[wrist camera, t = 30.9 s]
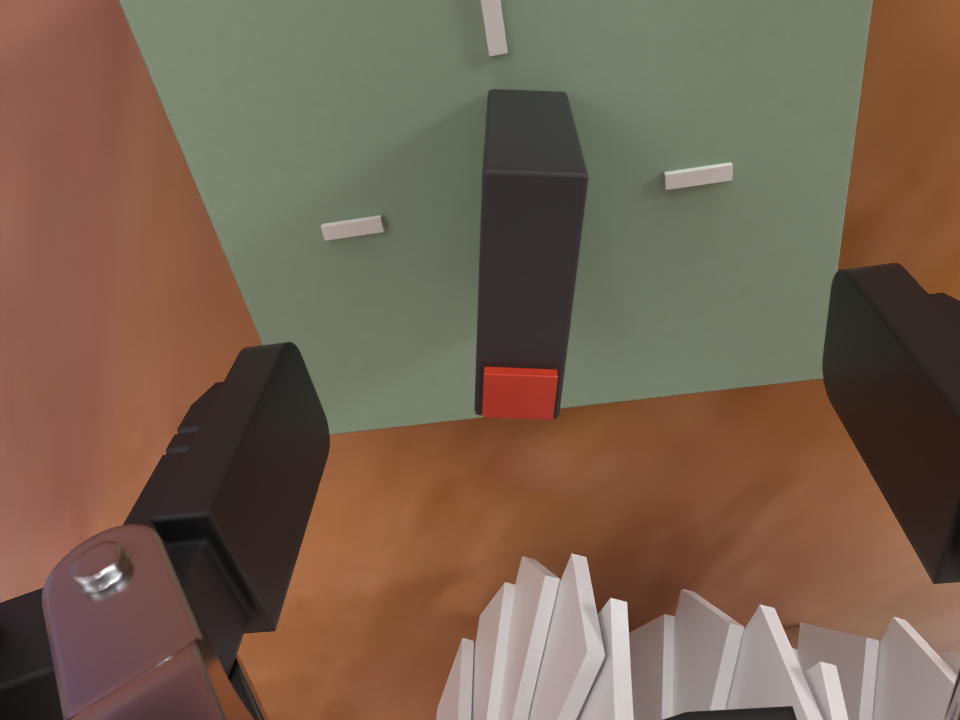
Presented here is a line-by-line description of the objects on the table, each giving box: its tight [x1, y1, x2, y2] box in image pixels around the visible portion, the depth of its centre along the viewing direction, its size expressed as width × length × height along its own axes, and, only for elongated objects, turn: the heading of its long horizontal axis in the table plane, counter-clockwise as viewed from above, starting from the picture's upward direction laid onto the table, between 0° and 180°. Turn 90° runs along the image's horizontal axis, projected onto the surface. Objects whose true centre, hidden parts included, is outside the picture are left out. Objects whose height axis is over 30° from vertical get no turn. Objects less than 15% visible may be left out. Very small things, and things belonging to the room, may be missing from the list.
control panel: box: [119, 0, 873, 435], centre depth 17 cm, size 14×12×3 cm
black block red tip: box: [474, 89, 589, 420], centre depth 14 cm, size 5×2×5 cm, turn 178°
